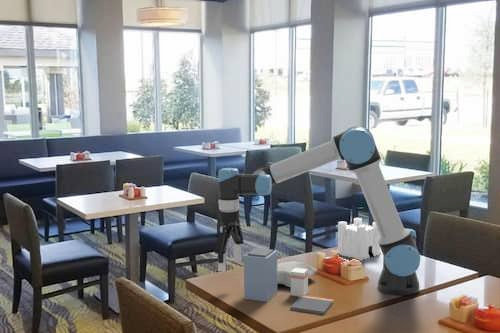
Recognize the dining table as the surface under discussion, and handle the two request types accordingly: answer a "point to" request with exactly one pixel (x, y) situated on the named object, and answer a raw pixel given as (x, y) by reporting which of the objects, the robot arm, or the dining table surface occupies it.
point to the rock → (286, 269)
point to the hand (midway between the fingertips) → (230, 265)
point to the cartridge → (299, 282)
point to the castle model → (358, 239)
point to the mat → (312, 304)
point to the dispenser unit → (260, 274)
